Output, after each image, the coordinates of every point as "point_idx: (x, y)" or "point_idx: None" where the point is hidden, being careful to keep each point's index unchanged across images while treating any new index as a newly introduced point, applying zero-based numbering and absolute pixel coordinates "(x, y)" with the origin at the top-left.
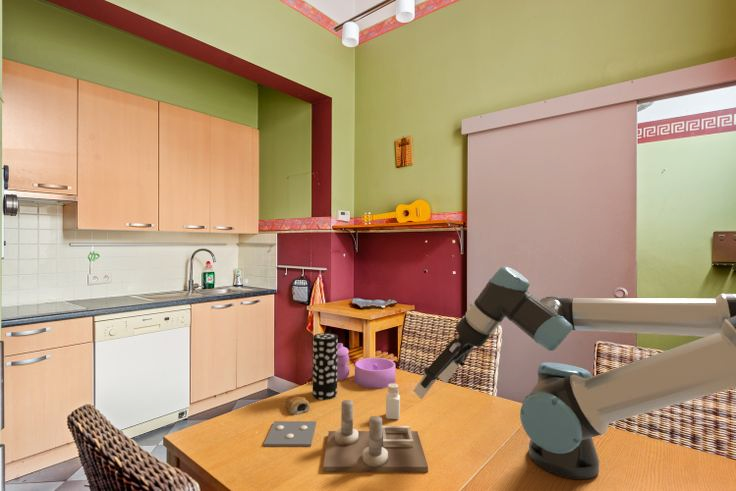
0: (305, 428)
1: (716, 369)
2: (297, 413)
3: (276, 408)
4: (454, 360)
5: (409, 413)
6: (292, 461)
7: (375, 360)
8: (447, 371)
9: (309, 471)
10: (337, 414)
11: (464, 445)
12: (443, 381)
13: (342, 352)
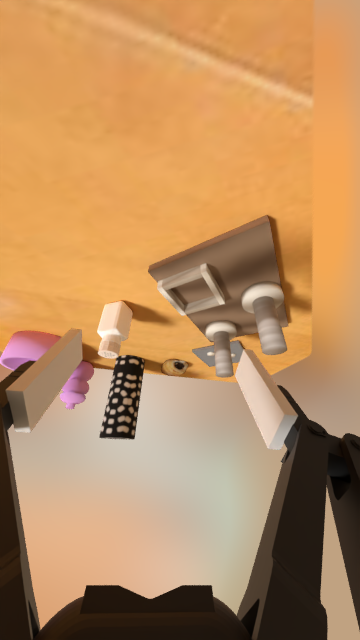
0: (213, 353)
1: None
2: (184, 361)
3: None
4: (287, 572)
5: (88, 294)
6: None
7: None
8: (61, 370)
9: (286, 328)
10: (161, 344)
11: (117, 160)
12: (80, 338)
13: (75, 397)
